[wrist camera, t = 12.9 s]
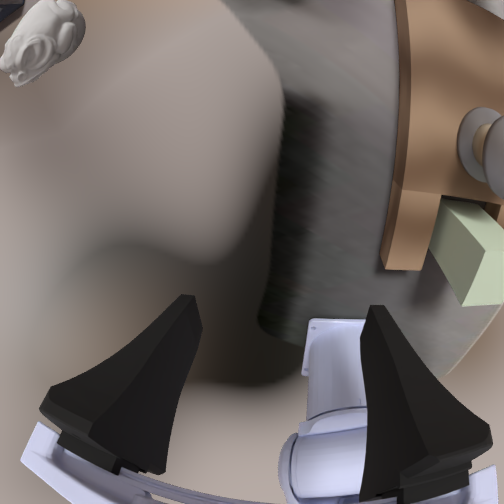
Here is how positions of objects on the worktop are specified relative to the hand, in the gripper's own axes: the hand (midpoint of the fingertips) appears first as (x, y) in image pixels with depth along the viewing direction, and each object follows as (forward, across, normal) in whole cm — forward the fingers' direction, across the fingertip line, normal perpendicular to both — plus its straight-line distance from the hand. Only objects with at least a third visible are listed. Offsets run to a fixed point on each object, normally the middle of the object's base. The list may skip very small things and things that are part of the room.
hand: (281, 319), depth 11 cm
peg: (+10, -13, 0) cm, 16 cm away
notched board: (+10, -13, -7) cm, 18 cm away
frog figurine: (+10, +16, -16) cm, 25 cm away
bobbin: (+8, -13, -7) cm, 17 cm away
